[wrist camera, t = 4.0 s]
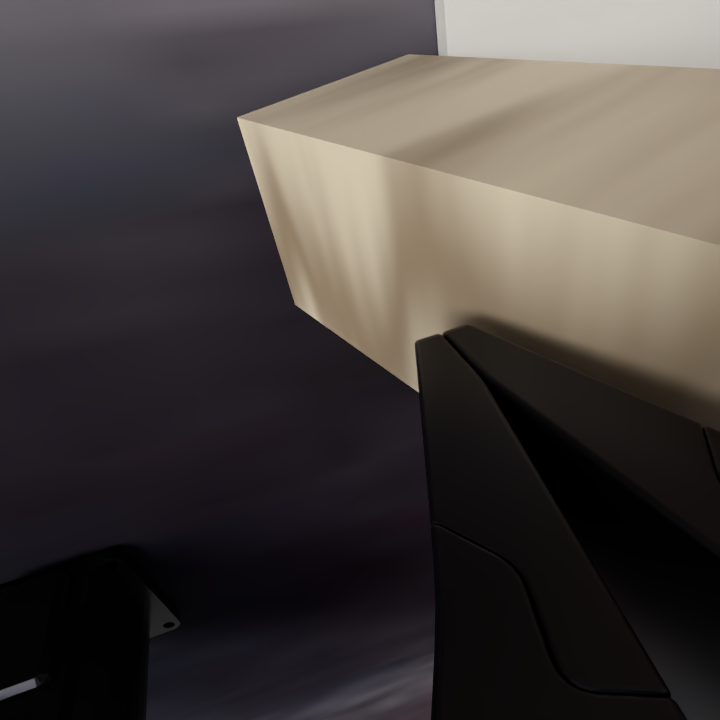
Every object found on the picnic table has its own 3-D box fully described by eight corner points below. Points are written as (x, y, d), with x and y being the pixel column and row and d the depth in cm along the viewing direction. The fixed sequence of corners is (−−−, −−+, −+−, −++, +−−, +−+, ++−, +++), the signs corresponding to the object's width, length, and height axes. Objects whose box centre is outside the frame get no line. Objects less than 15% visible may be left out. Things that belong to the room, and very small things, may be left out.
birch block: (427, 232, 16) (942, 433, 8) (295, 304, 15) (789, 656, 6) (408, 54, 13) (1215, 91, 5) (236, 117, 11) (1073, 338, 3)
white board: (778, 251, 21) (791, 258, 21) (461, 356, 20) (468, 366, 19) (1024, -408, 11) (1061, -424, 11) (413, -286, 10) (425, -297, 9)
